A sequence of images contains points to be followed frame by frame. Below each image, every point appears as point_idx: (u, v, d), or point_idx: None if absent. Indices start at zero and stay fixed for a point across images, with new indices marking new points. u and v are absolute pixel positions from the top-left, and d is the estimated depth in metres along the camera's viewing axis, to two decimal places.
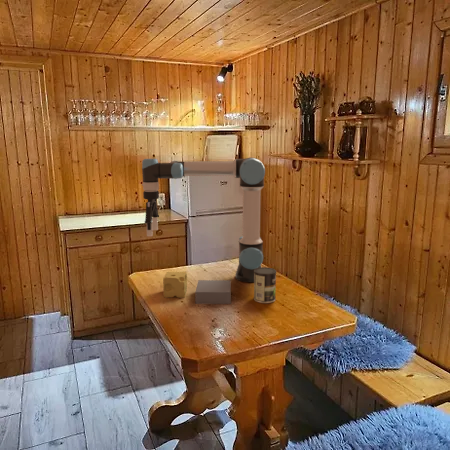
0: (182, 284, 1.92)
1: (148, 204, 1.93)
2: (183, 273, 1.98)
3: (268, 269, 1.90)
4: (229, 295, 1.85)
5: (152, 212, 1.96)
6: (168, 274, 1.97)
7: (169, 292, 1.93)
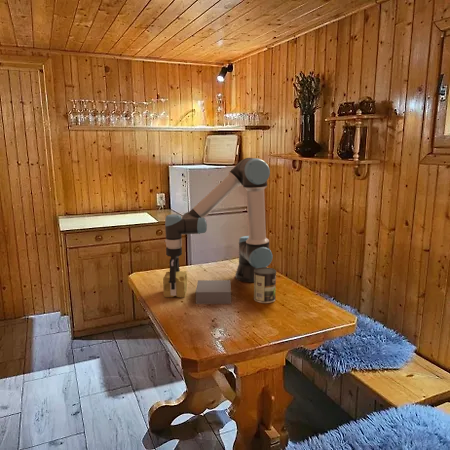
0: (182, 284, 1.92)
1: (172, 264, 1.88)
2: (183, 273, 1.98)
3: (268, 269, 1.90)
4: (229, 295, 1.85)
5: (175, 270, 1.92)
6: (168, 274, 1.97)
7: (169, 292, 1.93)
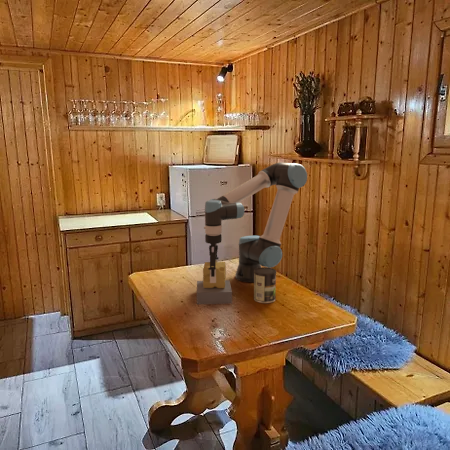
0: (222, 274, 1.88)
1: (212, 249, 1.82)
2: (222, 263, 1.93)
3: (268, 269, 1.90)
4: (230, 295, 1.86)
5: (215, 257, 1.85)
6: (207, 264, 1.93)
7: (209, 282, 1.89)
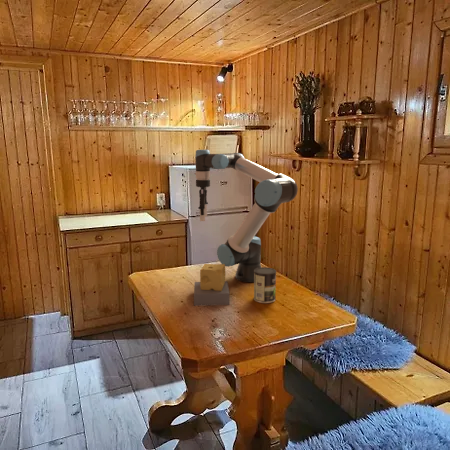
0: (219, 277, 1.85)
1: (202, 191, 2.10)
2: (221, 266, 1.91)
3: (268, 269, 1.90)
4: (228, 296, 1.84)
5: None
6: (206, 266, 1.91)
7: (206, 284, 1.87)
